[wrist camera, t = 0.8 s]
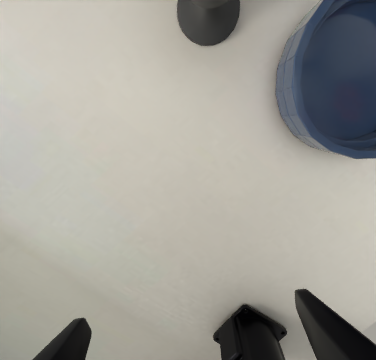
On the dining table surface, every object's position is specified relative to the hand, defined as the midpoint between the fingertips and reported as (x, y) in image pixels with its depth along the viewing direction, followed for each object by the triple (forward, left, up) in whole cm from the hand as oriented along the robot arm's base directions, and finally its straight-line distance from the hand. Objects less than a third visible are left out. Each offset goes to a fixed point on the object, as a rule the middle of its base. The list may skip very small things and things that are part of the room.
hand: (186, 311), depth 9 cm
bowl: (-4, -16, -13) cm, 21 cm away
